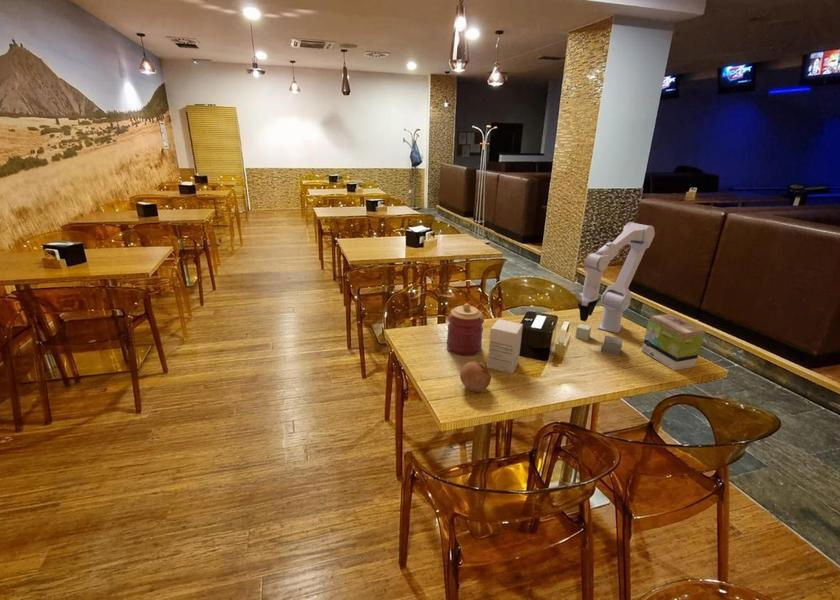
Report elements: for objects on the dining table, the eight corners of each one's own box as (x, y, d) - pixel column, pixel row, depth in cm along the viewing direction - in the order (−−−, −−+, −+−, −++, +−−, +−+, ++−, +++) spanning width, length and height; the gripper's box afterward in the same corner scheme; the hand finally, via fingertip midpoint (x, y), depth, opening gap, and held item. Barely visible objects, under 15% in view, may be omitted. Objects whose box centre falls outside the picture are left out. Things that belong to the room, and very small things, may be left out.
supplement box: (494, 356, 151) (498, 318, 146) (518, 362, 147) (523, 323, 142) (486, 367, 143) (490, 327, 138) (512, 374, 140) (517, 333, 134)
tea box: (640, 351, 158) (648, 315, 153) (660, 348, 161) (670, 312, 156) (673, 371, 145) (684, 332, 140) (695, 367, 148) (707, 329, 143)
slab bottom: (603, 346, 162) (605, 340, 161) (620, 351, 159) (622, 345, 158) (600, 352, 157) (601, 346, 156) (617, 357, 154) (618, 351, 153)
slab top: (603, 341, 161) (605, 335, 160) (621, 344, 158) (622, 338, 157) (602, 347, 156) (604, 341, 155) (620, 351, 153) (621, 345, 152)
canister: (473, 359, 148) (476, 313, 142) (440, 350, 154) (442, 305, 148) (486, 345, 159) (490, 301, 153) (455, 337, 165) (458, 294, 159)
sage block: (578, 333, 172) (580, 323, 170) (589, 336, 169) (591, 326, 168) (575, 337, 168) (576, 327, 167) (586, 340, 166) (588, 330, 164)
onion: (485, 396, 133) (503, 373, 129) (468, 401, 126) (486, 376, 122) (466, 375, 138) (482, 352, 134) (448, 378, 131) (465, 354, 127)
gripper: (586, 278, 169) (580, 309, 174) (576, 287, 157) (570, 320, 162) (604, 281, 165) (598, 314, 170) (595, 291, 154) (589, 325, 159)
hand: (585, 317), depth 166 cm, fingers open, 7 cm apart
